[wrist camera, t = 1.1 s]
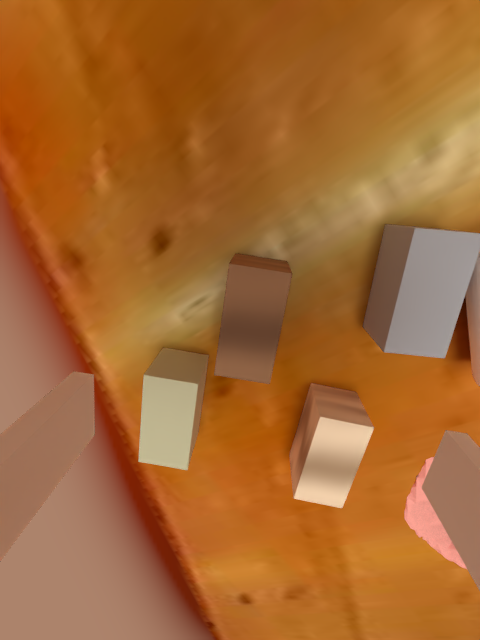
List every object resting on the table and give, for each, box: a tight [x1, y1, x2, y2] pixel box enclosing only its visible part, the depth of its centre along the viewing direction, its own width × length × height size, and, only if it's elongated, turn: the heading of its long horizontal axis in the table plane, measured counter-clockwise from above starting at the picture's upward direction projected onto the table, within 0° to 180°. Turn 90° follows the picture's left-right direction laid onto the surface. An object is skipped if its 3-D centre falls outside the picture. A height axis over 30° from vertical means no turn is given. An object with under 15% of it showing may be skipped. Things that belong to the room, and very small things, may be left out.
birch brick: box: [289, 383, 374, 508], centre depth 27 cm, size 8×4×5 cm, turn 169°
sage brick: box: [138, 347, 209, 470], centre depth 27 cm, size 8×4×5 cm, turn 171°
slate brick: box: [363, 224, 480, 358], centre depth 23 cm, size 8×4×5 cm, turn 175°
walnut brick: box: [214, 253, 292, 384], centre depth 24 cm, size 8×4×5 cm, turn 172°
